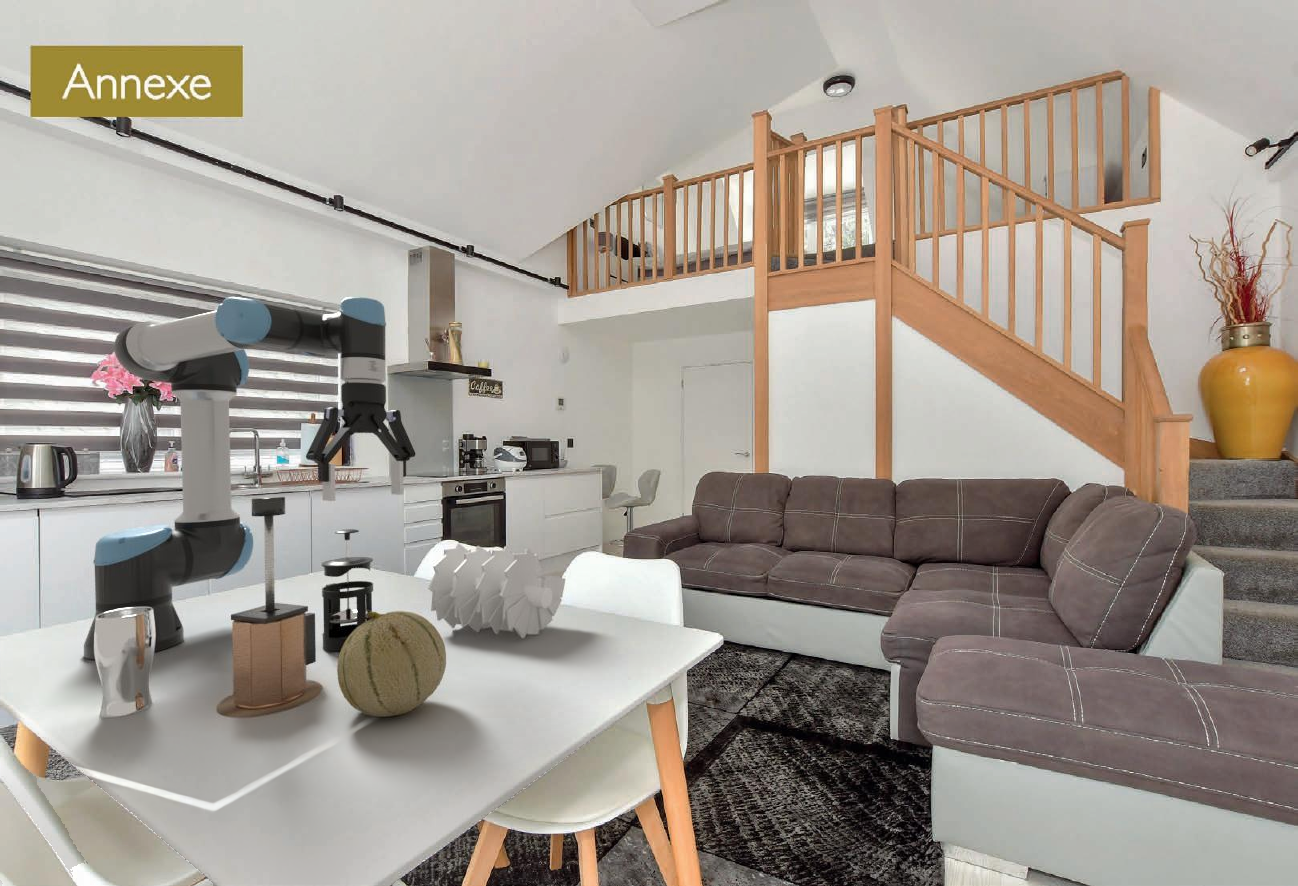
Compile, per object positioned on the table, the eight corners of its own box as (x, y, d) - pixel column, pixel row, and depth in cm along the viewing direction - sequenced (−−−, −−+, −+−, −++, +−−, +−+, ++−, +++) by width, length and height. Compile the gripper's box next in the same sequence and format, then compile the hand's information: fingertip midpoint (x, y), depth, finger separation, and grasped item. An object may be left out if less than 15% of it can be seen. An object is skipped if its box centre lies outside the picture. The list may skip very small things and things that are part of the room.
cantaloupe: (457, 718, 87) (455, 613, 87) (343, 746, 79) (341, 631, 79) (433, 684, 100) (432, 592, 100) (333, 705, 92) (331, 606, 92)
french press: (387, 645, 120) (385, 528, 120) (341, 660, 112) (339, 534, 112) (352, 635, 126) (351, 524, 126) (306, 649, 118) (305, 530, 118)
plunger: (237, 636, 92) (235, 499, 92) (274, 625, 98) (272, 495, 98) (266, 640, 90) (264, 500, 90) (302, 628, 96) (300, 496, 96)
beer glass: (105, 728, 86) (103, 621, 86) (87, 716, 89) (86, 614, 89) (164, 709, 92) (163, 609, 92) (145, 699, 95) (144, 603, 95)
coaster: (193, 713, 90) (193, 709, 90) (279, 678, 103) (279, 675, 103) (261, 727, 85) (261, 723, 85) (343, 689, 98) (343, 685, 98)
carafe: (220, 705, 91) (219, 616, 91) (292, 676, 103) (291, 596, 103) (265, 713, 88) (263, 621, 88) (333, 682, 99) (332, 600, 99)
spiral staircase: (532, 664, 119) (434, 642, 129) (575, 605, 134) (483, 590, 144) (510, 589, 112) (407, 573, 122) (558, 535, 126) (462, 524, 136)
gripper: (306, 376, 100) (307, 504, 101) (433, 386, 121) (434, 492, 122) (283, 378, 105) (284, 502, 105) (409, 388, 126) (410, 491, 126)
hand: (364, 497), depth 113 cm, fingers open, 13 cm apart
